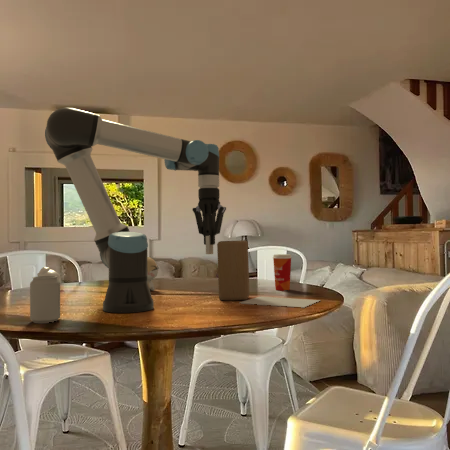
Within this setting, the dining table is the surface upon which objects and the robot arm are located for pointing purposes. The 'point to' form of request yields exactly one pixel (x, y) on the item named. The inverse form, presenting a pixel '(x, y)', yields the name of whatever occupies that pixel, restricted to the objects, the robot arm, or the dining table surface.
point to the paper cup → (282, 271)
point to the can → (44, 299)
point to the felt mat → (280, 301)
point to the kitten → (151, 272)
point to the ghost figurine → (48, 273)
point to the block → (233, 270)
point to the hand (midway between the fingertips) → (209, 254)
